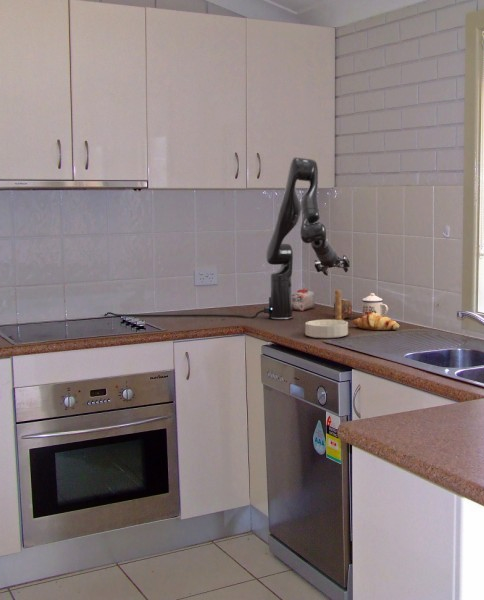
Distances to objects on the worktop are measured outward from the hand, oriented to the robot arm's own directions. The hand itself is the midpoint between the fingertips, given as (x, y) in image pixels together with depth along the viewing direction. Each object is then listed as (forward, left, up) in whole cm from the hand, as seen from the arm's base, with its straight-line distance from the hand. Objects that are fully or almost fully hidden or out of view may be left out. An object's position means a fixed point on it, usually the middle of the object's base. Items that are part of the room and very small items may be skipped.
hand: (336, 272), depth 359 cm
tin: (-3, +13, -22) cm, 25 cm away
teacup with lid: (+13, +12, -22) cm, 28 cm away
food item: (-32, +30, -22) cm, 49 cm away
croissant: (+23, -11, -22) cm, 33 cm away
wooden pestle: (+9, -18, -22) cm, 30 cm away
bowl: (+11, -33, -22) cm, 41 cm away
